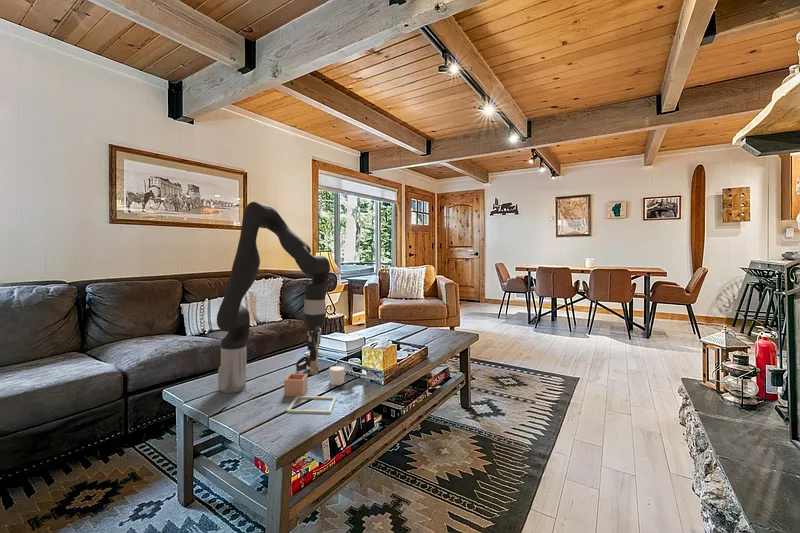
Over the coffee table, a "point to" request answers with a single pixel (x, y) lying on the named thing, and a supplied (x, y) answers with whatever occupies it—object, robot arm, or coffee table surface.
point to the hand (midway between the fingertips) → (313, 359)
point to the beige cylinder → (336, 375)
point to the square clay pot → (295, 384)
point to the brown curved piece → (303, 366)
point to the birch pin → (314, 364)
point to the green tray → (311, 410)
